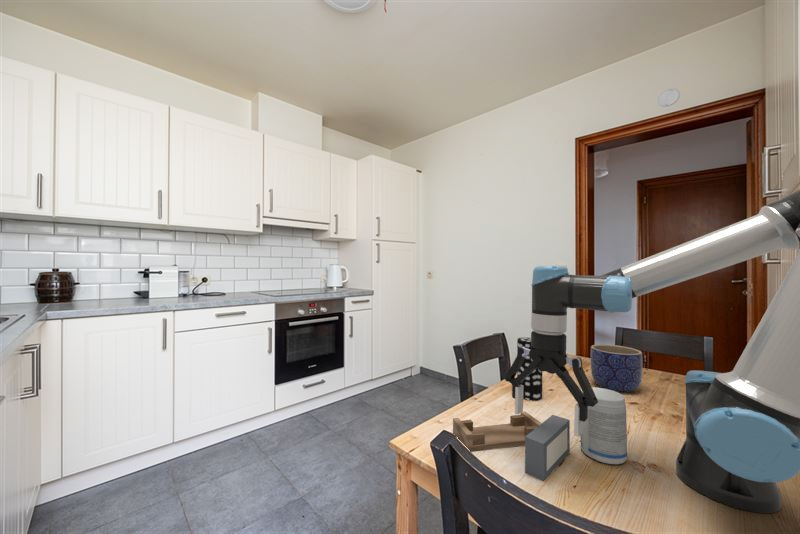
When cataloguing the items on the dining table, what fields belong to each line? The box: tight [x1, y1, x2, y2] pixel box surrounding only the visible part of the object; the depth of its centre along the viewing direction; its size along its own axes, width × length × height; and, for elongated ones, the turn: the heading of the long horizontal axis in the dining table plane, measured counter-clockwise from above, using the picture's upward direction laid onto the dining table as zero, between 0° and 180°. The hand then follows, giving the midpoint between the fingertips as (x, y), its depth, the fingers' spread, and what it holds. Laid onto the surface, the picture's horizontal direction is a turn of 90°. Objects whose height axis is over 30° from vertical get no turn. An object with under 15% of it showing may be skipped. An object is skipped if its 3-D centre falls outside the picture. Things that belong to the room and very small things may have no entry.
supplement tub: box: [580, 386, 628, 465], centre depth 77 cm, size 10×10×15 cm
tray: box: [452, 410, 543, 453], centre depth 84 cm, size 9×22×4 cm, turn 103°
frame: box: [524, 414, 571, 482], centre depth 74 cm, size 4×16×8 cm, turn 134°
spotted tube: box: [516, 337, 543, 402], centre depth 114 cm, size 8×8×20 cm
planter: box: [590, 344, 643, 394], centre depth 123 cm, size 17×17×15 cm
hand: (546, 422), depth 74 cm, fingers open, 13 cm apart
